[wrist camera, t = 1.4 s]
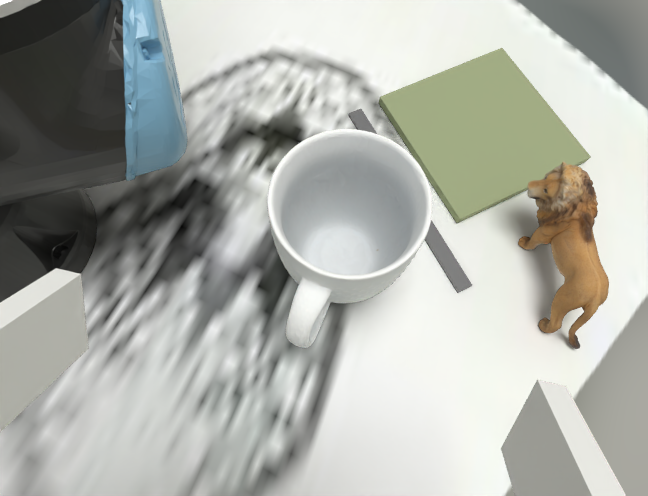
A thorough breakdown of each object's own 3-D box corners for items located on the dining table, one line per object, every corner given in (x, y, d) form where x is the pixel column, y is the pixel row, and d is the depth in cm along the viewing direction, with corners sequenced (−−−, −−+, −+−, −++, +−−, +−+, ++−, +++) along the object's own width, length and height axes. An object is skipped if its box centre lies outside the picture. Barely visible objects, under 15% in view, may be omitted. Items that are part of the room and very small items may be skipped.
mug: (357, 378, 35) (380, 371, 23) (243, 328, 36) (206, 296, 24) (412, 231, 40) (455, 159, 28) (309, 191, 41) (306, 105, 29)
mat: (378, 103, 45) (380, 96, 44) (498, 54, 47) (501, 47, 47) (456, 223, 40) (460, 219, 39) (584, 162, 43) (590, 156, 42)
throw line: (348, 115, 44) (348, 113, 44) (360, 110, 44) (361, 108, 44) (457, 292, 38) (458, 292, 38) (471, 286, 38) (472, 285, 38)
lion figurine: (491, 207, 41) (537, 159, 32) (540, 198, 41) (598, 148, 33) (547, 355, 36) (618, 343, 28) (602, 342, 37) (688, 327, 28)
